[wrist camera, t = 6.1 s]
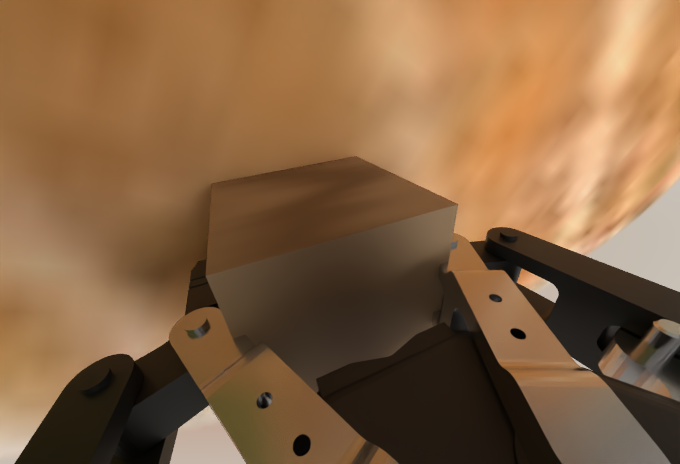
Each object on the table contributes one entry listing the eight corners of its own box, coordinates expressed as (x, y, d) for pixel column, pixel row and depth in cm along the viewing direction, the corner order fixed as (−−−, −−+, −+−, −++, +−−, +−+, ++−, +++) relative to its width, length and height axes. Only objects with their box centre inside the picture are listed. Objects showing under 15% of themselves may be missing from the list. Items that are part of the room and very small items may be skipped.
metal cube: (356, 156, 12) (458, 204, 7) (361, 264, 15) (433, 352, 10) (211, 183, 10) (205, 276, 5) (251, 300, 13) (272, 429, 8)
